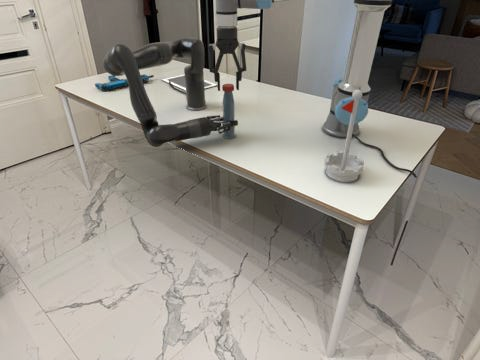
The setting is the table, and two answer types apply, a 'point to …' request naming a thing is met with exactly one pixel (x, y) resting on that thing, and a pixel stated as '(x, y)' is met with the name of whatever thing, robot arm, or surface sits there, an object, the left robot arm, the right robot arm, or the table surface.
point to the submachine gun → (118, 82)
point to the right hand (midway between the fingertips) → (228, 89)
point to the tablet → (180, 82)
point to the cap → (228, 87)
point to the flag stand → (346, 151)
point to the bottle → (228, 113)
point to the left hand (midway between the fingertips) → (234, 120)
